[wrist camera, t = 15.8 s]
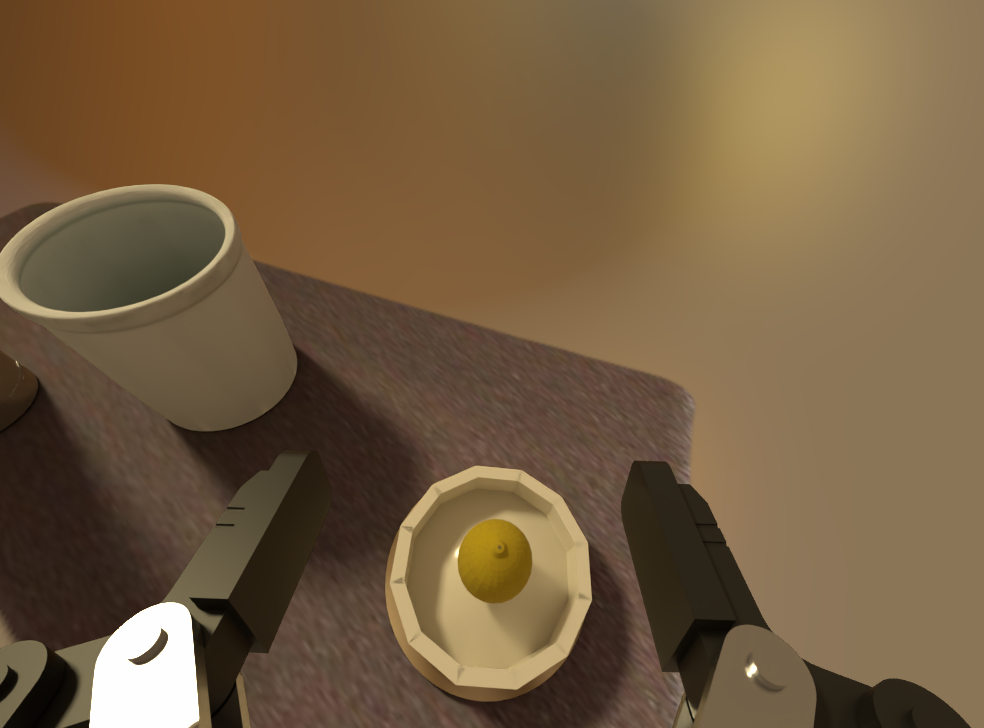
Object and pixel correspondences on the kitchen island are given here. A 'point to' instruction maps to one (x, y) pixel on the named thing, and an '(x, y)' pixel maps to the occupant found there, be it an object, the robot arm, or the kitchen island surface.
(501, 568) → the lemon
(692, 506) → the robot arm
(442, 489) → the bowl
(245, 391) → the utensil holder
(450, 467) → the kitchen island surface
